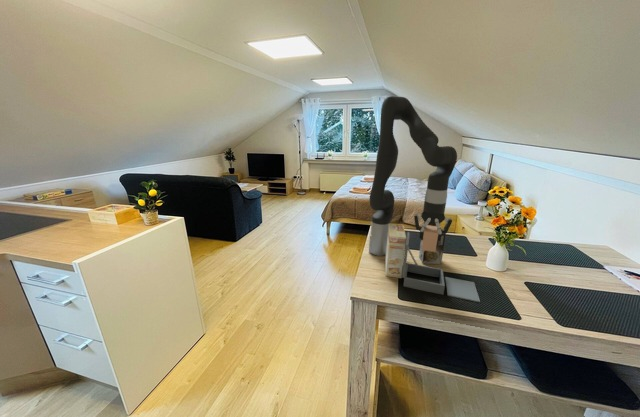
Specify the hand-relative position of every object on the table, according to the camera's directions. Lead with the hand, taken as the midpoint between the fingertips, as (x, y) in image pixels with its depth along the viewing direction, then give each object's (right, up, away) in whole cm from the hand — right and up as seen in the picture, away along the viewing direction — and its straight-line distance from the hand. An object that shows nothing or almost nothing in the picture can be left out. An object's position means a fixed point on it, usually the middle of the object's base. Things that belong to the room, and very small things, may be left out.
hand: (429, 240), depth 100 cm
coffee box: (+10, -13, +23) cm, 28 cm away
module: (0, -3, +1) cm, 3 cm away
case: (0, -18, +6) cm, 19 cm away
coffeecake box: (-10, -15, +16) cm, 24 cm away
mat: (+13, -20, +1) cm, 24 cm away
